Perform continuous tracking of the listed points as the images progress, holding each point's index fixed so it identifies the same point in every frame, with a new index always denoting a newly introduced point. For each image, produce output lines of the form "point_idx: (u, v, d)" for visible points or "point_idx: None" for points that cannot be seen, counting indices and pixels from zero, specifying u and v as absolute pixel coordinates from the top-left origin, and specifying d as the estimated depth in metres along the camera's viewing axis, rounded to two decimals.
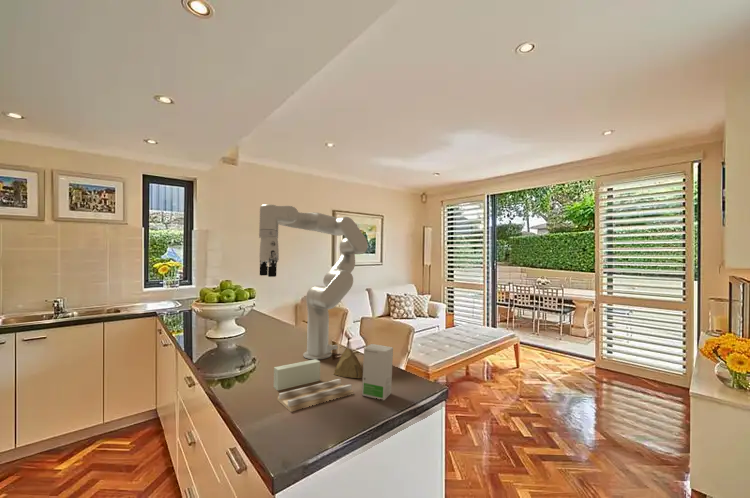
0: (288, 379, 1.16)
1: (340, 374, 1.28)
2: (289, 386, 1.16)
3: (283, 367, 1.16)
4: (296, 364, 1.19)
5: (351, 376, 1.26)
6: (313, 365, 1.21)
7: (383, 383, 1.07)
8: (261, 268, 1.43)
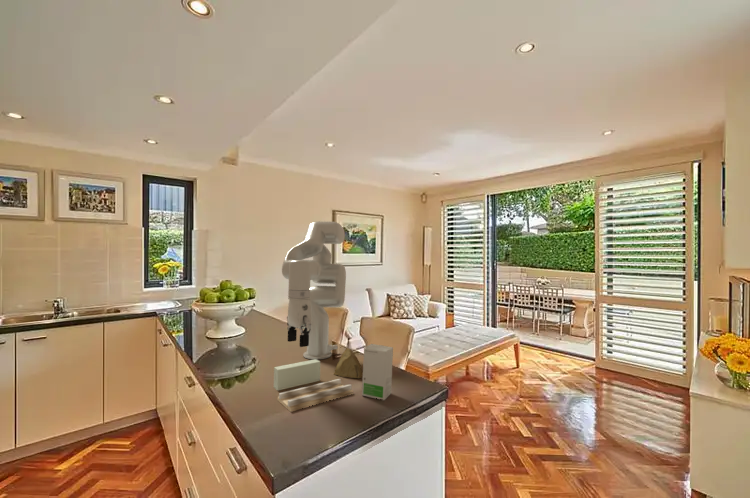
0: (288, 379, 1.16)
1: (340, 374, 1.28)
2: (289, 386, 1.16)
3: (283, 367, 1.16)
4: (296, 364, 1.20)
5: (351, 376, 1.26)
6: (313, 365, 1.21)
7: (383, 383, 1.07)
8: (289, 333, 1.22)
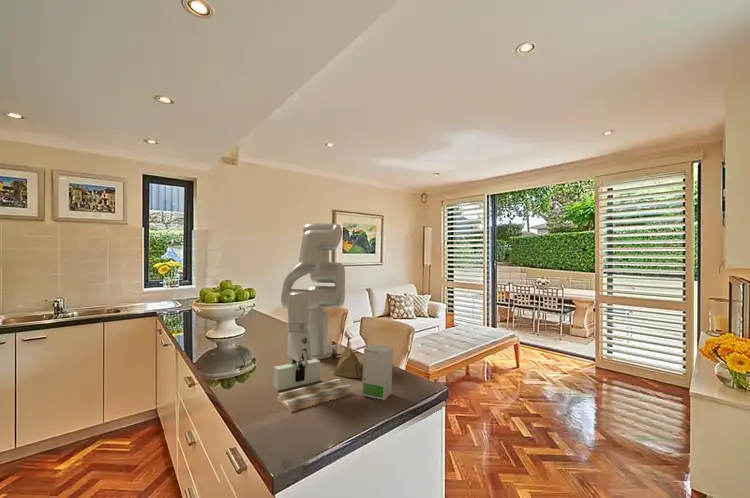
0: (288, 379, 1.16)
1: (340, 374, 1.28)
2: (289, 386, 1.16)
3: (283, 367, 1.16)
4: (296, 364, 1.19)
5: (351, 376, 1.26)
6: (313, 364, 1.21)
7: (383, 383, 1.07)
8: None
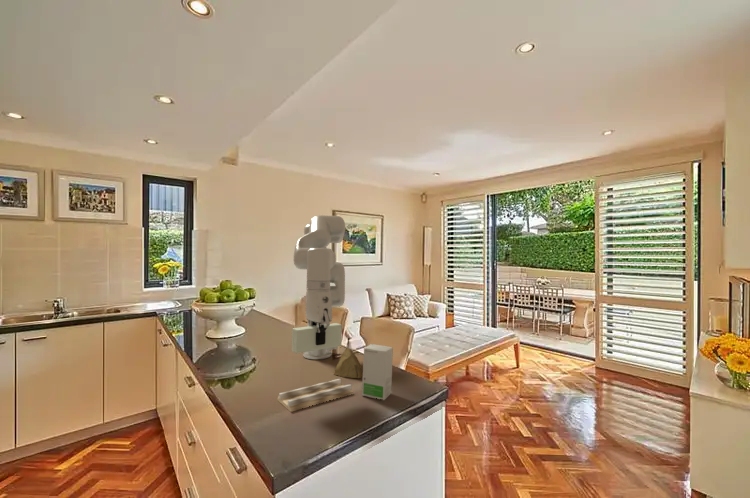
0: (307, 341, 1.05)
1: (340, 374, 1.28)
2: (309, 349, 1.05)
3: (302, 328, 1.06)
4: (316, 326, 1.09)
5: (351, 376, 1.26)
6: (334, 328, 1.11)
7: (383, 383, 1.07)
8: None
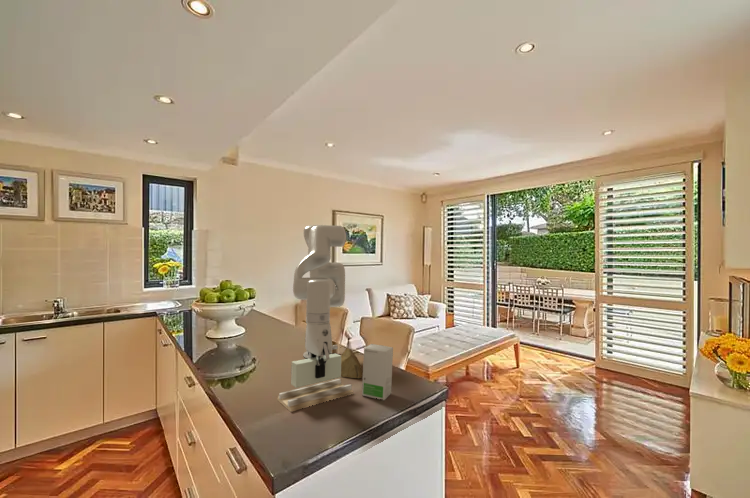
0: (307, 375, 1.05)
1: None
2: (308, 382, 1.05)
3: (302, 361, 1.05)
4: (315, 358, 1.08)
5: (351, 376, 1.26)
6: (333, 359, 1.10)
7: (383, 383, 1.07)
8: None
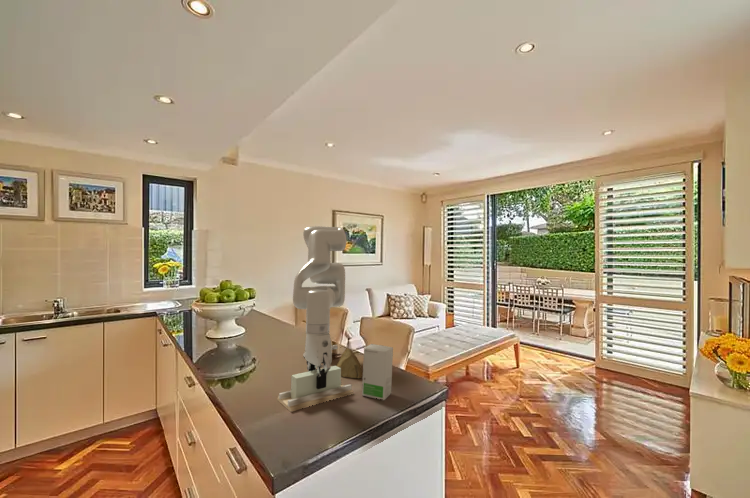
0: (307, 388, 1.05)
1: None
2: None
3: (301, 375, 1.05)
4: (315, 371, 1.09)
5: (351, 376, 1.26)
6: (333, 372, 1.11)
7: (383, 383, 1.07)
8: None
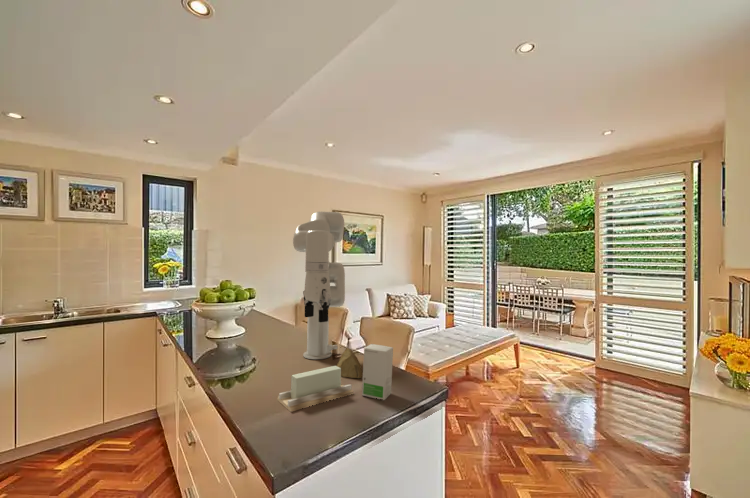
0: (307, 388, 1.05)
1: None
2: None
3: (301, 375, 1.05)
4: (315, 371, 1.09)
5: (351, 376, 1.26)
6: (333, 372, 1.11)
7: (383, 383, 1.07)
8: (306, 308, 1.15)
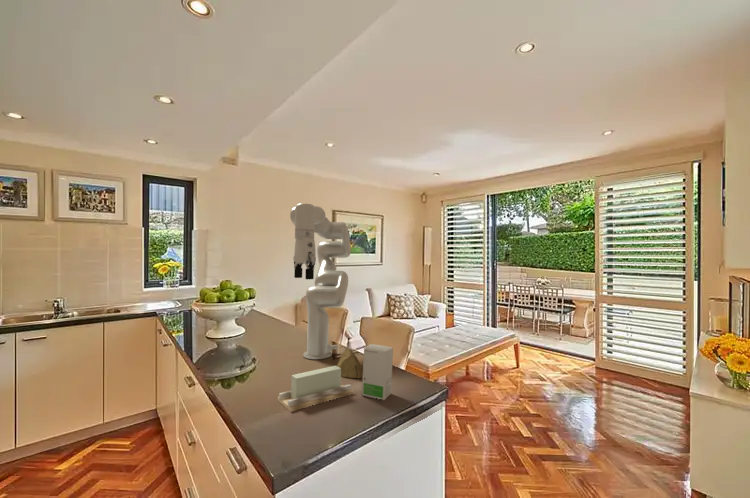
0: (307, 388, 1.05)
1: None
2: None
3: (301, 375, 1.05)
4: (315, 371, 1.09)
5: (351, 376, 1.26)
6: (333, 372, 1.11)
7: (383, 383, 1.07)
8: (296, 270, 1.36)
